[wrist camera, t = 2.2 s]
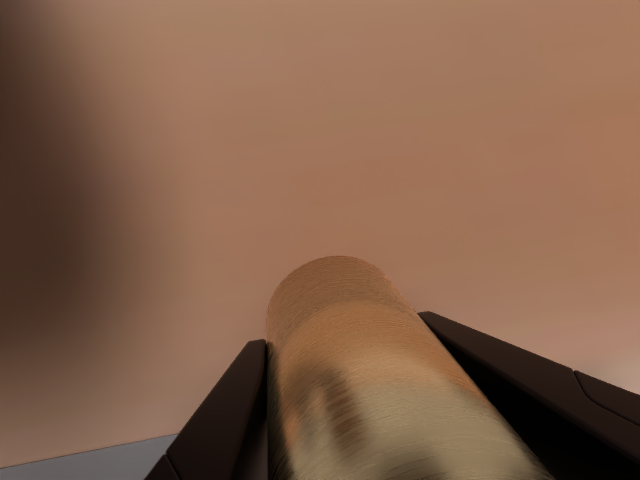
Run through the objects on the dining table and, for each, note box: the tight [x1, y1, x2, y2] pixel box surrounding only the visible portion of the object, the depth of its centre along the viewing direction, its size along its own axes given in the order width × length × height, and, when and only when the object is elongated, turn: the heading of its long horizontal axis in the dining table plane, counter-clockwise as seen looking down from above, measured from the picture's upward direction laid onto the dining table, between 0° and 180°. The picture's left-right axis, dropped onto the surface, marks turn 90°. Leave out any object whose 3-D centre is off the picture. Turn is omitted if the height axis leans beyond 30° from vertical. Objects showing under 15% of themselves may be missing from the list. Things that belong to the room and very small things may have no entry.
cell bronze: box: [266, 256, 556, 480], centre depth 6 cm, size 4×4×7 cm
